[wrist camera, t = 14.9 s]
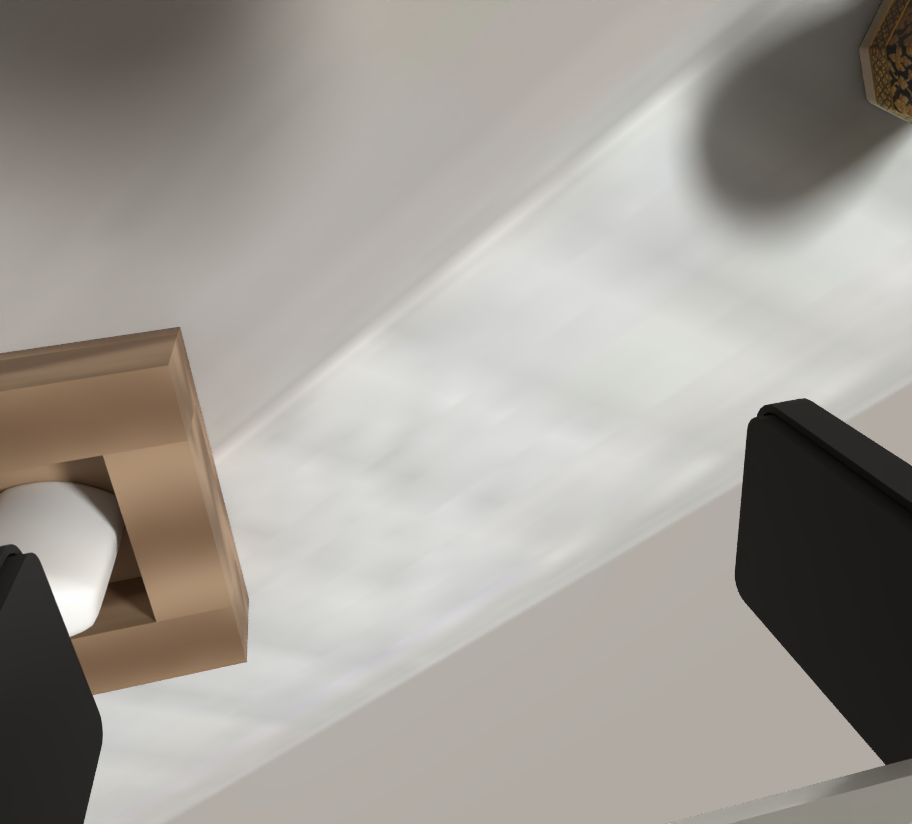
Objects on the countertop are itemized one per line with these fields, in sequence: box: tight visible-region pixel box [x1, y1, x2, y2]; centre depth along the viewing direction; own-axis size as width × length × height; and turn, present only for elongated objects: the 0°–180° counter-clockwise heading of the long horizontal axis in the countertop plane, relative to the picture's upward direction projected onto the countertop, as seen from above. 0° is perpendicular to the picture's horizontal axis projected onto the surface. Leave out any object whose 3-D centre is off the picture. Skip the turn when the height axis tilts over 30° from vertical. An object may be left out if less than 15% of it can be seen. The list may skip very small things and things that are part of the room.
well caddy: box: [0, 327, 249, 695], centre depth 37 cm, size 16×14×5 cm
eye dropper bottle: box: [0, 481, 124, 637], centre depth 33 cm, size 4×6×12 cm
